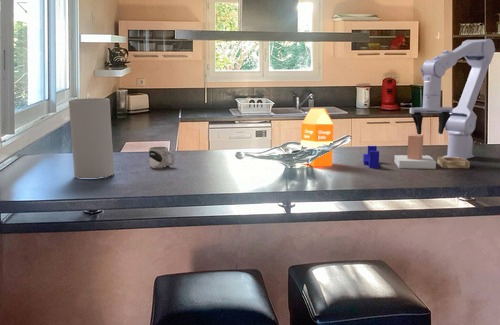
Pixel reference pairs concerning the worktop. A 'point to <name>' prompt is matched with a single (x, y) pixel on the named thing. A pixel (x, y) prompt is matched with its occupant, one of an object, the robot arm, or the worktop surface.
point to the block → (415, 147)
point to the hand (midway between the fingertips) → (429, 133)
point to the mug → (160, 157)
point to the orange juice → (318, 134)
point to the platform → (415, 162)
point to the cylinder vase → (91, 137)
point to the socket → (453, 162)
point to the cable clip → (371, 157)
